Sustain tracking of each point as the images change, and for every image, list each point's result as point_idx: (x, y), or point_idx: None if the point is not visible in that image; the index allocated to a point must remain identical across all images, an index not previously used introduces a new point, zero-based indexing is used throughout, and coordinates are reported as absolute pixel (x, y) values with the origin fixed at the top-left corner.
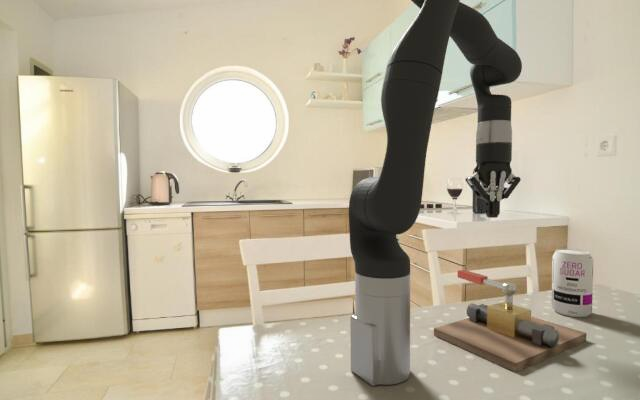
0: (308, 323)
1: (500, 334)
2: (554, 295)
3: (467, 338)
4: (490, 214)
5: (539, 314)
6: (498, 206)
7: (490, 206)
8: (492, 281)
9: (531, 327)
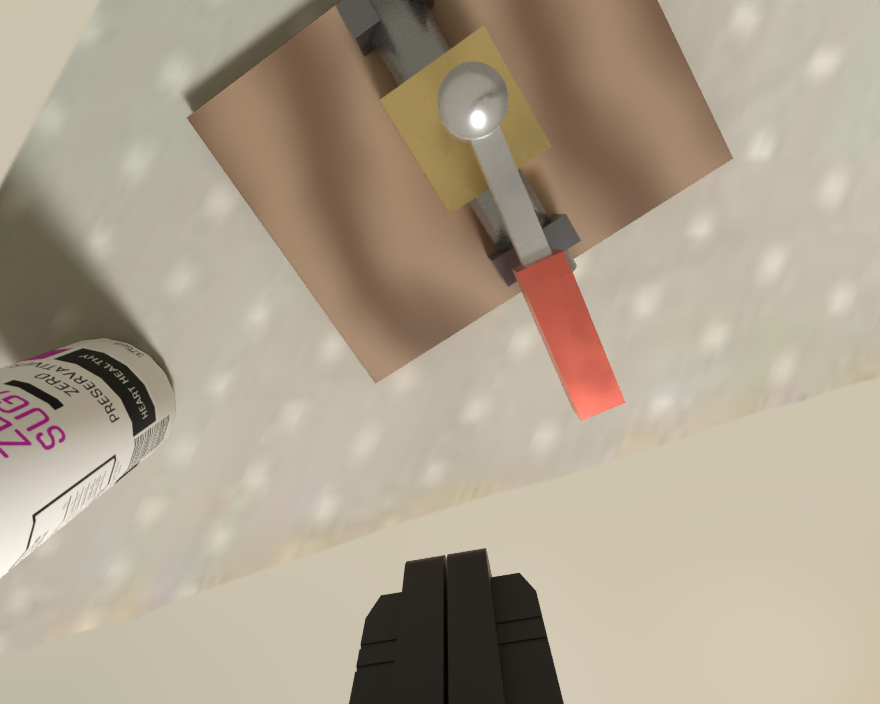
0: None
1: None
2: (145, 422)
3: (647, 55)
4: (502, 580)
5: (245, 373)
6: (375, 692)
7: (520, 672)
8: (518, 202)
9: (424, 13)
